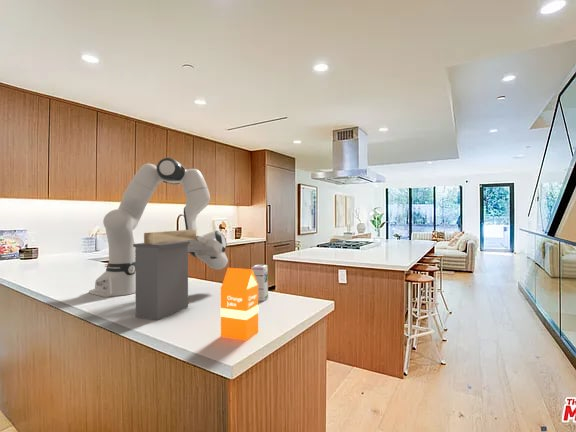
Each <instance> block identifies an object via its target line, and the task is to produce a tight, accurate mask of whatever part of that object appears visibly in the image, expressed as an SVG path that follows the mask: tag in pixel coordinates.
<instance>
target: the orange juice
mask: <svg viewBox="0 0 576 432" xmlns="http://www.w3.org/2000/svg"><path fill="white" fill-rule="evenodd" d="M258 333H259V301H258V283H257V281H256V278H255V275H254V273H253V270H252V269H251V268H250V269H249V268H237V267H235V268H234V267H227V270H226V272H225V275H224V279H223V281H222V284H221V287H220V337H221V338H222V337H223V338H228V339H233V340H240V341H245V342H247V341H248V340H249V339H250V338H253V336H255V335H256V334H258Z"/></svg>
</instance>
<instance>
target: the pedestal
mask: <svg viewBox="0 0 576 432" xmlns="http://www.w3.org/2000/svg"><path fill="white" fill-rule="evenodd" d="M188 244H190V241H178V242H170V243H161V244H144V242H141V243H135V244H133V247H135V269H136V293H135V318H139V319H141V318H142V319H148V320H154V321H159V320H161V319H164V318H167V317H169V316H172V315H174V314H175V313H178V312H179V313H180V311H183V310H185V309H187V308H189V252H188Z"/></svg>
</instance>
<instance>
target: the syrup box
mask: <svg viewBox="0 0 576 432" xmlns="http://www.w3.org/2000/svg"><path fill="white" fill-rule="evenodd" d="M250 269H252V270H253V273H254V275H255V278H256V281H257V283H258V302H265V301H266V300H268V298H269V277H268V275H269V273H268V271H269V270H268V264H255V265H253V266H251V268H250Z"/></svg>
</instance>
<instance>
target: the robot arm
mask: <svg viewBox="0 0 576 432" xmlns="http://www.w3.org/2000/svg"><path fill="white" fill-rule="evenodd" d="M161 183H166V184H169V185H179V184H180V185H181V186H182V187H183V190H184V194H185V199H186V203H185V206H184V207H183V218H184V225H185V230H196V238H195V240H187V241H190V244H188V254H189V255H191V256H192V257H194V258H196V259H198V260H200V261H202V262H203V263H205V264H206V265H207V266H208V267H210V268H212V269H213V270H216V271H219V270H222V269H224V268H225V267H226V266H227V265H228V263H229V260H228V257H227V254H226V249H227V245H228V243H227V239H226V237H225V235H224V234H223V233H222V232H221V231H218V230H213V231H210V232H208V233H206V234H205V233H204V234H201V235H198V229H197V224H196V223H197V222H196V219H197V217H198V215H199V214H200V213H201V212H202V211H203V210H204V209H206V207H207V206H208V205H209V204H210V201H211V194H210V190H209V187H208V185H207V182H206V180H205V178H204V175H203V174H202V172H201V171H200V170H199V169H197V168H188V169H187V168H185V167H184V165H183V164H181V162H179V161H178V160H176V159H175V158H171V157H164V158H161V160H159V161H158V163H157V165H156V164H154V163H153V164H152V163H144V164H143V165H142V166H141V167H140V168H139V169H138V170H137V172H136V173H135V174H134V176H133V178H132V179H131V181H130V182H129V184H128V185H127V187H126V189H125V191H124V193H122V199H121V201H120V204H119V206H118V208H116V209H113V210H110V211H109V212H107V213H106V214H105V215H104V217H103V223H102V224H103V226H104V228H105V234H106V239H107V243H108V245H107V246H108V263H105V264H104V268H106V269H105V271H104V272H103V273H102V274H101V275H100V276H99V277H97V278H96V280H95V281H94V288H93V289H90V290H89V291H88V294H92V295H95V296H98V297H99V296H100V297H103V298H106V297H107V298H108V297H115V296H116V297H117V296H118V297H119V296H126V295H132V294H136V269H135V247H133V244H136V243H135V240H134V233H133V231H134V230H135V229H136V228H137V227H138V224H139V223H140V220H141V219H142V216H143V214H144V211H145V209H146V207H147V205H148V203H149V201H150V199H151V198H152V196H153V195H154V192H155V190H156V189H157V187H158V186H159V185H160V184H161Z"/></svg>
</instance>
